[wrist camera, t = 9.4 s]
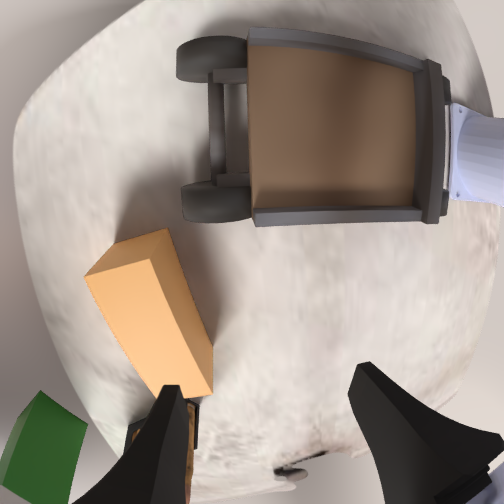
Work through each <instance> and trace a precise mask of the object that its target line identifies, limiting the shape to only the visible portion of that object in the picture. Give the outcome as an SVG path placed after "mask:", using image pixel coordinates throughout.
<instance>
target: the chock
mask: <svg viewBox="0 0 504 504" xmlns="http://www.w3.org/2000/svg"><path fill="white" fill-rule="evenodd" d="M84 279H85V281H86V283H87V285H88V287H89V289H90V292H91V294H92V296H93V298H94V300H95V302H96V303H97V305H98V307H99V309H100V311H101V313H102V315H103V317H104V318H105V320H106V322H107V324H108V326H109V327H110V329H111V331H112V333H113V334H114V336H115V338H116V339H117V341H118V343H119V344H120V346H121V348H122V349H123V351H124V352H125V354H126V356H127V357H128V359H129V360H130V362H131V363H132V365H133V366H134V368H135V369H136V371H137V372H138V374H139V375H140V377H141V378H142V380H143V381H144V382H145V384H146V385H147V387H148V388H149V389H150V391H151V392H152V393H153V395H154V396H155V397H156V399H157V397H158V395H159V393H160V391H161V388H162V386H163V385H180V388H181V391H182V394H183V397H184V398H192V397H199V396H206V395H212V394H213V347H212V344H211V342H210V339H209V337H208V335H207V332H206V330H205V327H204V325H203V323H202V320H201V318H200V315H199V313H198V310H197V308H196V305H195V302H194V300H193V297H192V295H191V292H190V289H189V287H188V284H187V281H186V279H185V276H184V273H183V270H182V268H181V265H180V262H179V259H178V256H177V253H176V251H175V248H174V245H173V242H172V239H171V236H170V233H169V230H168V228H165V229H162V230H158V231H155V232H151V233H148V234H144V235H141V236H138V237H134V238H131V239H128V240H125V241H121V242H118V243H115V244H113V245H112V246H111V247H110V248H109V249H108V251H107V252H106V253H105V254H104V255H103V256H102V257H101V258H100V259H99V260H98V261H97V262H96V264H95V265H94V266H93V267H92V268H91V269H90V270H89V271H88V272H87V274H86V275H85V276H84Z"/></svg>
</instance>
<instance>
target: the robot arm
mask: <svg viewBox="0 0 504 504" xmlns="http://www.w3.org/2000/svg"><path fill="white" fill-rule="evenodd" d="M450 112H451V159H450V176H449V187H448V191H449V198H451V199H453V200H466V201H477V202H487V203H493V204H496V205H498V206H501V207H504V118H494V117H486V116H484V115H482V114H480V113H478V112H476V111H474V110H472V109H469V108H467V107H465V106H462V105H460V104H458V103H451V105H450ZM456 193H457V194H456ZM348 397H349V401H350V404H351V407H352V410H353V413H354V416H355V418H356V420H357V422H358V424H359V426H360V429H361V431H362V433H363V435H364V437H365V439H366V441H367V443H368V446H369V448H370V450H371V452H372V455H373V457H374V460H375V464H376V467H377V470H378V474H379V477H380V481H381V485H382V489H383V494H384V500H385V504H504V462H503V463H502V464H500V465H499V466H498V467H497V468H496V469H495V470H493V472H491V473H490V474H488V473H487V472H488V471H489V470H490V467H489V466H488V464H489V463H490V462H491V461H493V460H494V459H495V458H496V457H497V456H498V455H499V454H500V453H501V452H503V451H504V440H503V439H502V437H501V436H500V435H499V434H497V433H492V432H488V431H482V430H479V429H476V428H472V427H469V426H466V425H463V424H461V423H458V422H456V421H454V420H451V419H449V418H447V417H445V416H443V415H441V414H440V413H438V412H436V411H434V410H432V409H431V408H429V407H427V406H426V405H424V404H423V403H421V402H420V401H419V400H417V399H416V398H414V397H413V396H411V395H410V394H409V393H407V392H406V391H405V390H404V389H402V388H401V387H400V386H399V385H397V384H396V383H395V382H394V381H392V380H391V379H390V378H389V377H388V376H386V375H385V374H384V373H383V372H382V371H381V370H379V369H378V368H377V367H376V366H375V365H374V364H372V363H371V362H370V361H369V362H365V363H360V364H357V366H356V370H355V373H354V376H353V379H352V382H351V385H350V388H349V391H348ZM188 444H189V411H188V409H187V406H186V403H185V400H184V397H183V394H182V391H181V388H180V385H163V386H162V388H161V391H160V393H159V395H158V397H157V399H156V401H155V403H154V405H153V407H152V409H151V411H150V413H149V415H148V416H147V418H146V420H145V422H144V423H143V425H142V427H141V429H140V430H139V432H138V433H137V435H136V437H135V438H134V440H133V441H132V443H131V444H130V446H129V447H128V448H127V450H126V451H125V453H124V454H123V455H122V457H121V458H120V459H119V460H118V462H117V463H116V464H115V465H114V466H113V467H112V469H111V470H110V471H109V472H108V473H107V474H106V475H105V476H104V477H103V478H102V479H101V480H100V481H99V482H98V483H97V484H96V485H95V486H93V487H92V488H91V489H90V490H89V491H88V492H87V493H86V494H85V495H83V496H82V497H80V498H79V499H77V500H76V501H75V502H74V503H72V504H186V493H185V477H186V465H187V455H188Z"/></svg>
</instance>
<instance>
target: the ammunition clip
mask: <svg viewBox="0 0 504 504" xmlns="http://www.w3.org/2000/svg"><path fill="white" fill-rule="evenodd" d="M184 400H185V403H186V406H187V409H188V411H189V444H188V455H187V465H186V477H185V493H186V504H189V502H190V493H191V479H192V475H193V457H194V450H195V449H197V443H198V424H199V407H200V406H199V405H197V404H196V403H194V402H192V401H191V400H189V399H187V398H184ZM146 418H147V417H146ZM146 418H144V419H142V420H140V421H138V422H136V423H134V424H131V425H129V426H128V430H127V435H126V441H125V447H124V452H123V454H124V453H125V451H126V450H127V448H128V447H129V446H130V444H131V443H132V441H133V440H134V438H135V437H136V435H137V433H138V432H139V430H140V429H141V427H142V425H143V423H144V422H145V420H146Z"/></svg>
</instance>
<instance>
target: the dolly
mask: <svg viewBox="0 0 504 504" xmlns="http://www.w3.org/2000/svg"><path fill="white" fill-rule="evenodd" d="M176 77H177V78H178V79H179V80H182V81H186V82H194V83H208V112H209V141H210V163H211V181H205V182H198V183H193V184H189V185H186V186H183V187H182V188H181V195H182V206H183V216H184V218H185V219H186V220H188V221H192V222H198V223H225V222H234V221H240V220H244V219H248V218H251V217H252V219H253V222H254V224H255V226H256V227H268V226H288V225H310V224H335V223H365V222H409V221H421V222H423V223H425V224H438V223H439V217H440V216H445V215H447V208H448V200H449V191H448V190H445V189H443V182H444V168H445V139H446V131H445V105H449V104H451V91H450V81H449V80H448V79H447V78H446V77H444V76H443V75H442V70H441V64H439V63H436V62H434V61H432V60H429V59H426V60H420V59H417V58H415V57H412V56H409V55H406V54H404V53H401V52H398V51H394V50H391V49H388V48H385V47H381V46H378V45H374V44H371V43H367V42H363V41H359V40H354V39H350V38H345V37H340V36H335V35H330V34H324V33H317V32H310V31H303V30H294V29H283V28H267V27H250V29H249V33H248V37H247V40H245V39H242V38H238V37H232V36H208V37H202V38H197V39H193V40H190V41H188V42H186V43H184V44H182V45H181V46H179V47H178V49H177V56H176ZM238 83H247V110H248V144H249V172H236V173H227V172H226V147H225V118H224V84H238Z"/></svg>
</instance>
